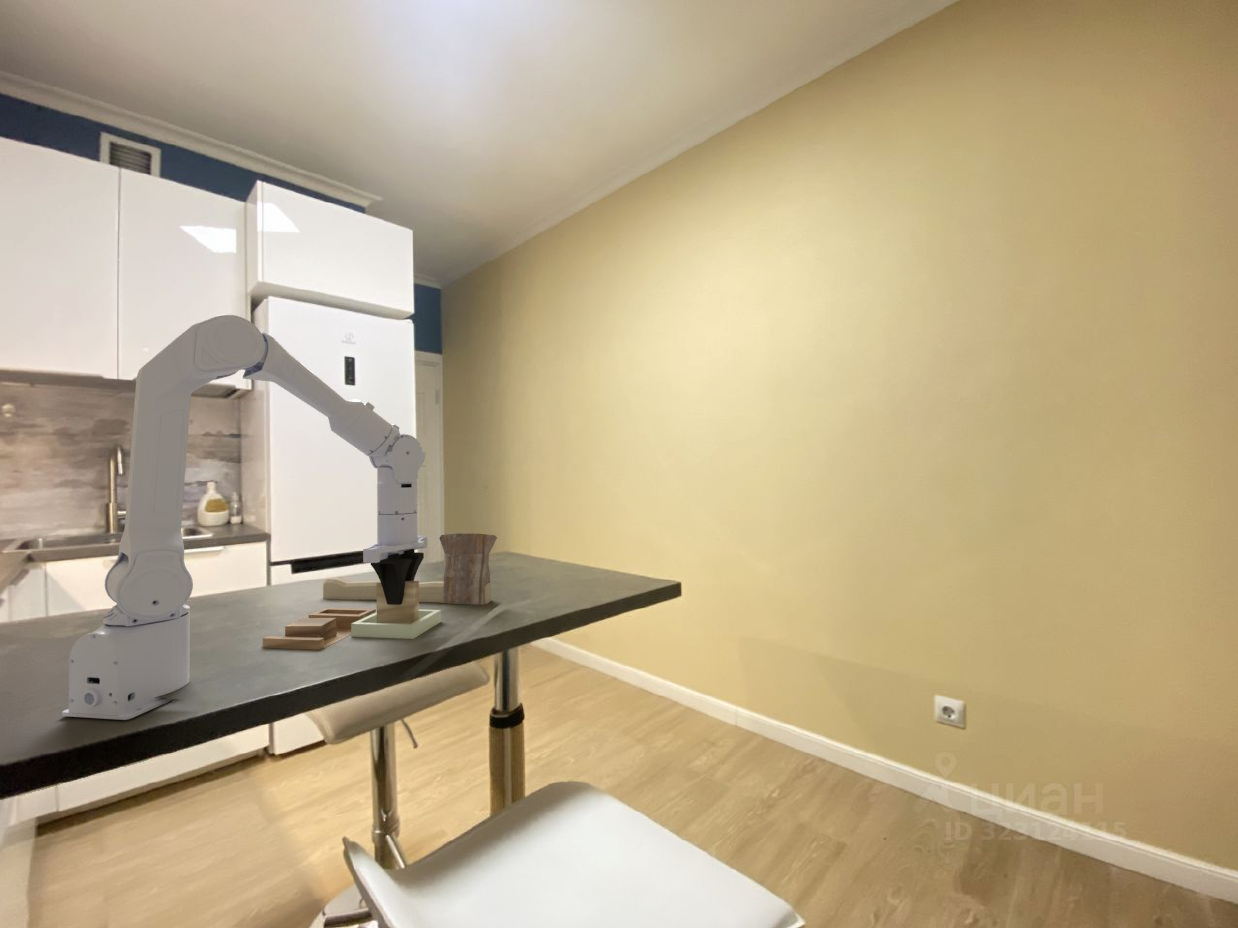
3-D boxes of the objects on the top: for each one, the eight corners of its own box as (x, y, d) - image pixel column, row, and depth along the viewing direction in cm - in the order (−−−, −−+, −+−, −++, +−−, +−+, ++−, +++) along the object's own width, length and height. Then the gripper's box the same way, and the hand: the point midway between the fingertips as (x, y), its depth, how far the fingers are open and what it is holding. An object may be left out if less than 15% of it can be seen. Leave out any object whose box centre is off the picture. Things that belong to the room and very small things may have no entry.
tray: (413, 645, 76) (413, 625, 76) (351, 643, 77) (351, 623, 77) (441, 627, 84) (441, 609, 84) (384, 625, 86) (384, 608, 86)
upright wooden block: (413, 633, 80) (413, 583, 80) (376, 631, 80) (376, 582, 81) (418, 630, 81) (418, 581, 81) (382, 628, 82) (382, 580, 82)
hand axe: (503, 606, 98) (500, 531, 98) (496, 610, 95) (493, 533, 95) (332, 607, 104) (329, 536, 104) (320, 611, 100) (317, 538, 101)
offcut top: (321, 634, 74) (321, 625, 74) (285, 634, 74) (285, 626, 74) (336, 626, 78) (336, 617, 78) (302, 626, 78) (302, 618, 78)
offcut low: (317, 643, 74) (317, 635, 74) (284, 642, 74) (284, 634, 74) (336, 634, 78) (336, 626, 78) (305, 633, 78) (305, 625, 78)
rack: (321, 656, 72) (321, 634, 72) (260, 654, 73) (260, 632, 73) (380, 626, 85) (380, 607, 85) (329, 624, 87) (329, 606, 87)
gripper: (396, 517, 73) (396, 616, 73) (444, 509, 88) (444, 591, 88) (349, 517, 74) (349, 614, 74) (404, 509, 89) (404, 591, 88)
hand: (398, 602), depth 81 cm, fingers closed on upright wooden block
